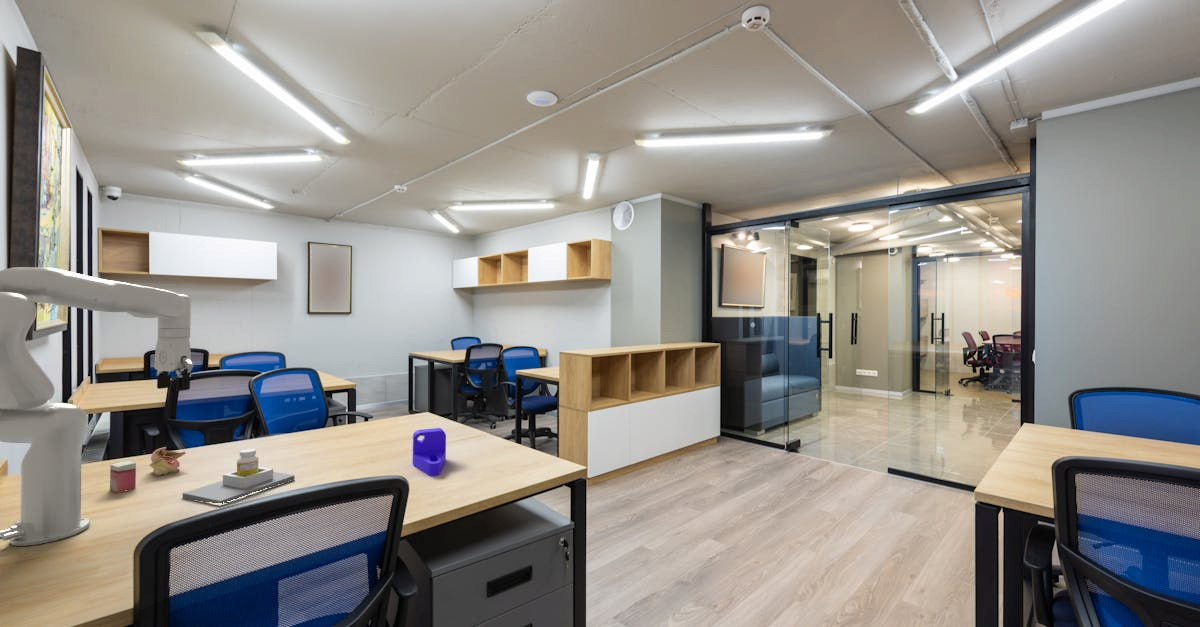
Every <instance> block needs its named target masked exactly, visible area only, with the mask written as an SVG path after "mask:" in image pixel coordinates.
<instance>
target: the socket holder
mask: <svg viewBox="0 0 1200 627" xmlns="http://www.w3.org/2000/svg"><path fill="white" fill-rule="evenodd" d="M294 479H295V474H288V473H283V472H277V471H274V468H269V467H265V466H262V467H261V466H258V473H255V474H252V475H249V476H246V477H244V476H238V475H237V470H233V471H230V472H227V473H224V474H222V480H221V481H216V482H215V483H214V482H213V483H211V484H210V483H209V484H207V485H203V486H200V487H198V488H194V489H191V490H188V491H185V492H182V499H185V500H190V501H193V500H197V501H196V502H198V501H203V502H212V503H222V504H223V502H224V503H228V504H230V503H229V502H227V501H231V500H233V499H237V498H239V497H242V496H245V495H248V494H250V493H252V492H256V491H260V490H263V489H265V488H269V487H273V486H276V485H278V484H282V483H285V484H287V483H286V482H288V481H290V480H293V481H295V480H294ZM290 482H291V481H290ZM288 483H289V482H288ZM282 485H283V484H282ZM276 487H277V486H276ZM273 488H274V487H273Z"/></svg>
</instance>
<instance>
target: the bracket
mask: <svg viewBox="0 0 1200 627" xmlns="http://www.w3.org/2000/svg"><path fill="white" fill-rule="evenodd" d="M421 436H423V439H419V438H420V437H421ZM446 452H447V434H446V432H445V431H444V430H443V429H442V428H440V427H435V428H425V429H418V430H415V431H414V432H413V434H412V466H413V467H414V468H416V469H417V470H419V471H421V472H422V473H424V474H426V475H427V476H429V477H437V476H439V475H440V474H441V473H442V471H443V469H444V467H445V465H446V463H445V462H447V461H446V460H447V453H446ZM444 464H445V465H444Z"/></svg>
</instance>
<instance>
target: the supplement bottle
mask: <svg viewBox="0 0 1200 627" xmlns="http://www.w3.org/2000/svg"><path fill="white" fill-rule="evenodd" d="M256 454H257V449H256V448H249V449H248V448H247V449H243V450H240V451H239V458H238V459H237V460H236V471H237V475H238V476H244V477H246V476H249V475H252V474H255V473H258V467H259V457H258V456H257V455H256Z"/></svg>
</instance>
